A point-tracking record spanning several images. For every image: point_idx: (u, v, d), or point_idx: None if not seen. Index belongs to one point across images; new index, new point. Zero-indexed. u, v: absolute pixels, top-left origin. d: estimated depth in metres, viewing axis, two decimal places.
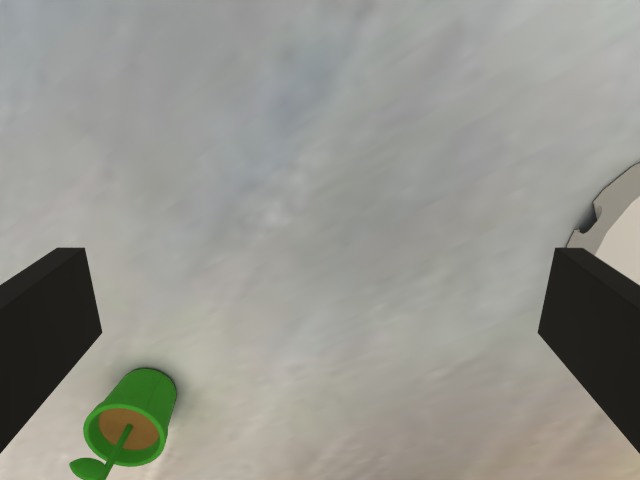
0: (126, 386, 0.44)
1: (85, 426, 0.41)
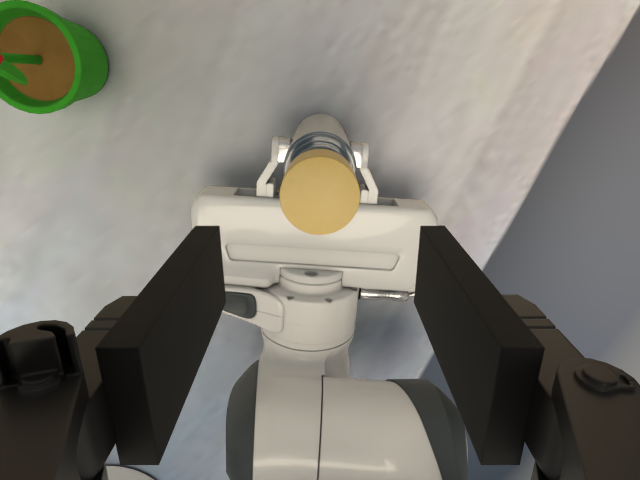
0: None
1: (78, 75, 0.33)
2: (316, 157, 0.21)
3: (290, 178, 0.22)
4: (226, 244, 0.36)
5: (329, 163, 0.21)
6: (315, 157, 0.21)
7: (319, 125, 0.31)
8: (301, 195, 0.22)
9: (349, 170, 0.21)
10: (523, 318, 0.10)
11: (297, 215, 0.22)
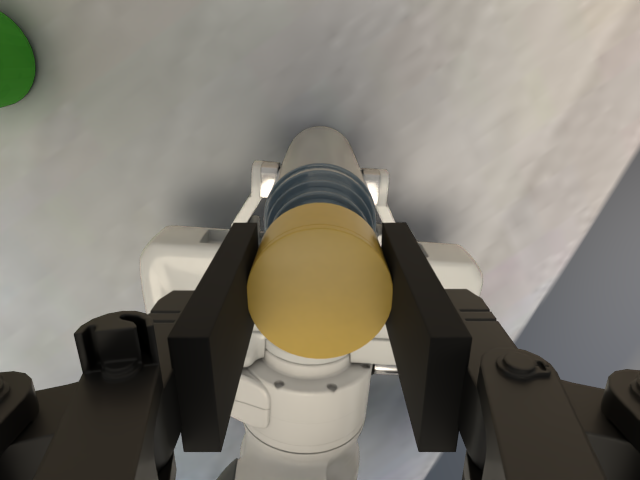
0: None
1: None
2: (313, 229, 0.11)
3: (265, 266, 0.12)
4: None
5: (337, 240, 0.11)
6: (311, 229, 0.11)
7: (319, 149, 0.21)
8: (286, 295, 0.12)
9: (374, 252, 0.12)
10: (467, 311, 0.10)
11: (279, 327, 0.12)
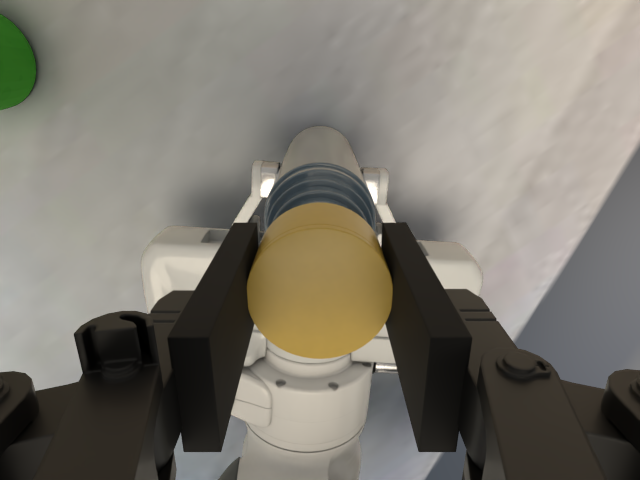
0: None
1: None
2: (255, 321, 0.12)
3: (305, 348, 0.13)
4: None
5: (256, 300, 0.12)
6: (256, 322, 0.12)
7: (318, 148, 0.21)
8: (327, 326, 0.12)
9: (254, 265, 0.12)
10: (467, 311, 0.10)
11: (365, 321, 0.12)
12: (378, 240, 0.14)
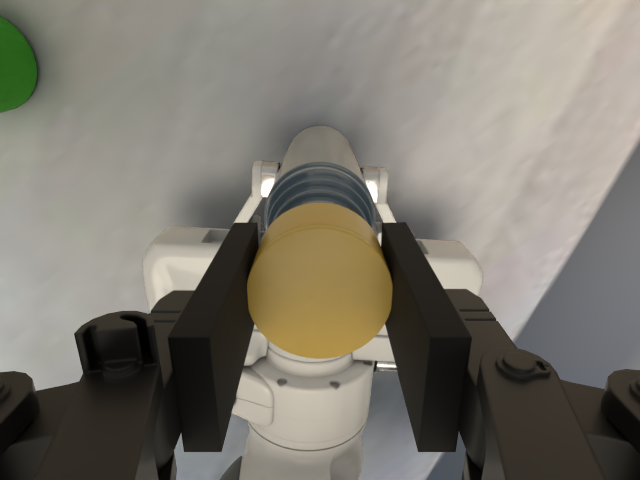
0: None
1: None
2: (366, 341, 0.13)
3: (382, 292, 0.12)
4: None
5: (342, 347, 0.13)
6: (367, 340, 0.13)
7: (318, 148, 0.21)
8: (348, 281, 0.12)
9: (308, 356, 0.13)
10: (466, 311, 0.10)
11: (331, 248, 0.11)
12: (275, 220, 0.14)
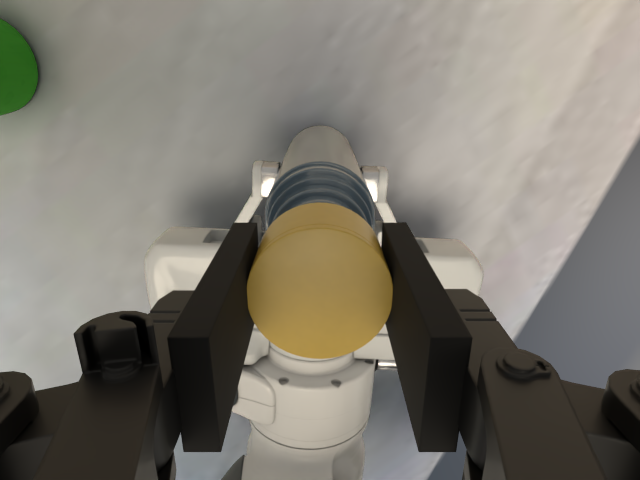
0: None
1: None
2: (356, 237, 0.11)
3: (293, 243, 0.11)
4: None
5: (369, 258, 0.12)
6: (354, 236, 0.11)
7: (318, 148, 0.21)
8: (293, 278, 0.12)
9: (391, 286, 0.12)
10: (467, 311, 0.10)
11: (266, 303, 0.12)
12: None
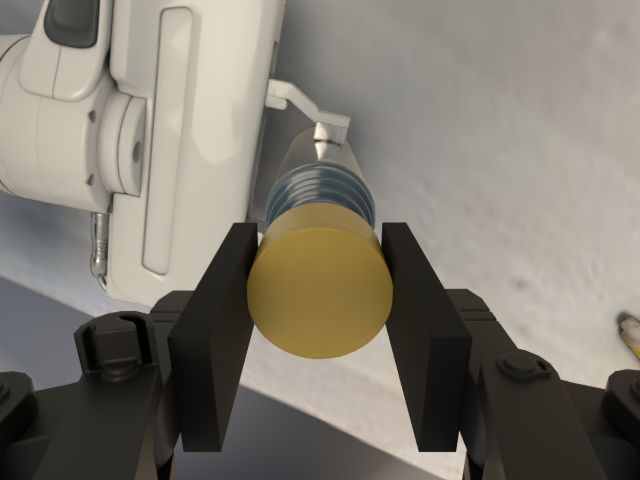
0: None
1: None
2: (356, 237, 0.11)
3: (293, 243, 0.11)
4: (190, 10, 0.21)
5: (369, 259, 0.12)
6: (354, 236, 0.11)
7: None
8: (293, 278, 0.12)
9: (391, 286, 0.12)
10: (467, 311, 0.10)
11: (266, 303, 0.12)
12: None
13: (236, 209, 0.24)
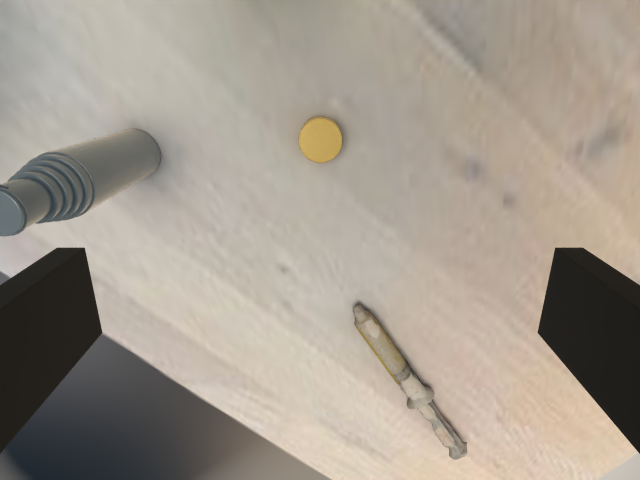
0: None
1: None
2: (330, 121, 0.40)
3: (313, 123, 0.40)
4: None
5: (334, 128, 0.40)
6: (330, 121, 0.40)
7: (116, 183, 0.34)
8: (312, 134, 0.40)
9: (341, 137, 0.41)
10: None
11: (304, 142, 0.41)
12: None
13: None
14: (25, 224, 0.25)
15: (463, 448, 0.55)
